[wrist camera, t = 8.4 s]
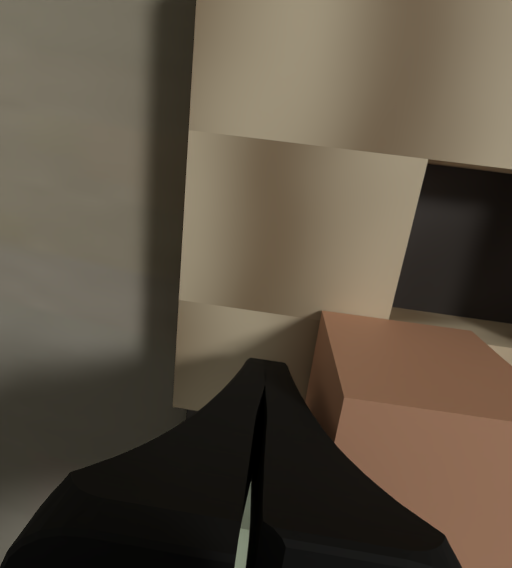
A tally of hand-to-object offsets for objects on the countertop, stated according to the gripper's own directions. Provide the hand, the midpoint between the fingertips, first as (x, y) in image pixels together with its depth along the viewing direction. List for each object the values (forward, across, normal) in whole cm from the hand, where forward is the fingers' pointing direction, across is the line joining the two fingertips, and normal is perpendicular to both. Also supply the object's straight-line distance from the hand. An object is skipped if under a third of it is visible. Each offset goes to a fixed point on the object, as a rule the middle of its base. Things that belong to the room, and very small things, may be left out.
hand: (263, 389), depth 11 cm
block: (+1, -4, 0) cm, 4 cm away
